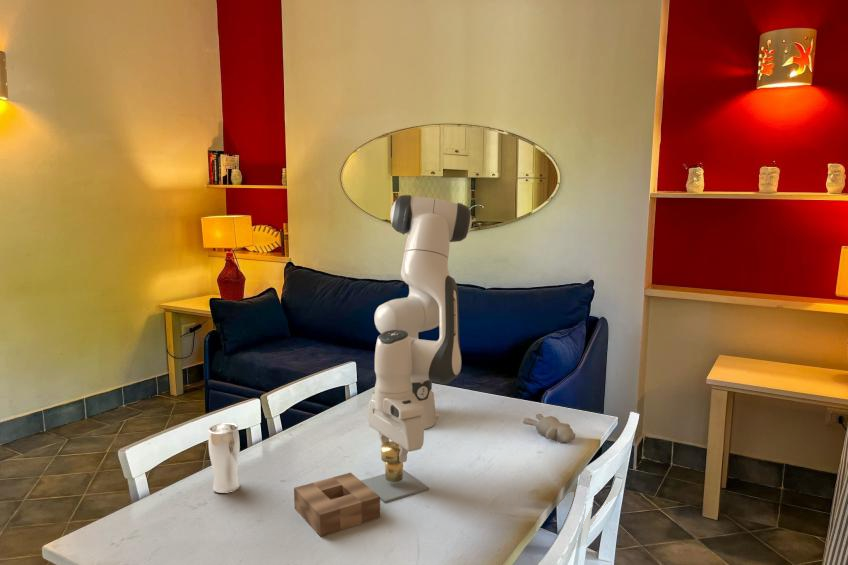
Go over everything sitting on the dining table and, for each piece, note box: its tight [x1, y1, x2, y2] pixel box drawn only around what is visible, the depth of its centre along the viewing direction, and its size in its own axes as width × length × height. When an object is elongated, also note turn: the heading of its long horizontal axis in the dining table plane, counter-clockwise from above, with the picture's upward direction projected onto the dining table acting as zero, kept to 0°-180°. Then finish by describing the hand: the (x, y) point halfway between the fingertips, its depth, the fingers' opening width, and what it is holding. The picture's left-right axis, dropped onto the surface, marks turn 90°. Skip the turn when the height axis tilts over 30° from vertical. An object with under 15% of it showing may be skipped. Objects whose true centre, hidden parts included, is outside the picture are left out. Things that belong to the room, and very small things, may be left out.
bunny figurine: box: [522, 413, 576, 444], centre depth 181 cm, size 10×5×15 cm
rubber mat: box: [360, 469, 430, 504], centre depth 150 cm, size 12×12×1 cm
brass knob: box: [380, 440, 404, 482], centre depth 149 cm, size 6×6×8 cm
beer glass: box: [208, 422, 241, 493], centre depth 147 cm, size 7×7×15 cm
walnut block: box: [293, 472, 381, 538], centre depth 137 cm, size 14×14×5 cm
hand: (394, 455), depth 149 cm, fingers closed on brass knob, 6 cm apart
